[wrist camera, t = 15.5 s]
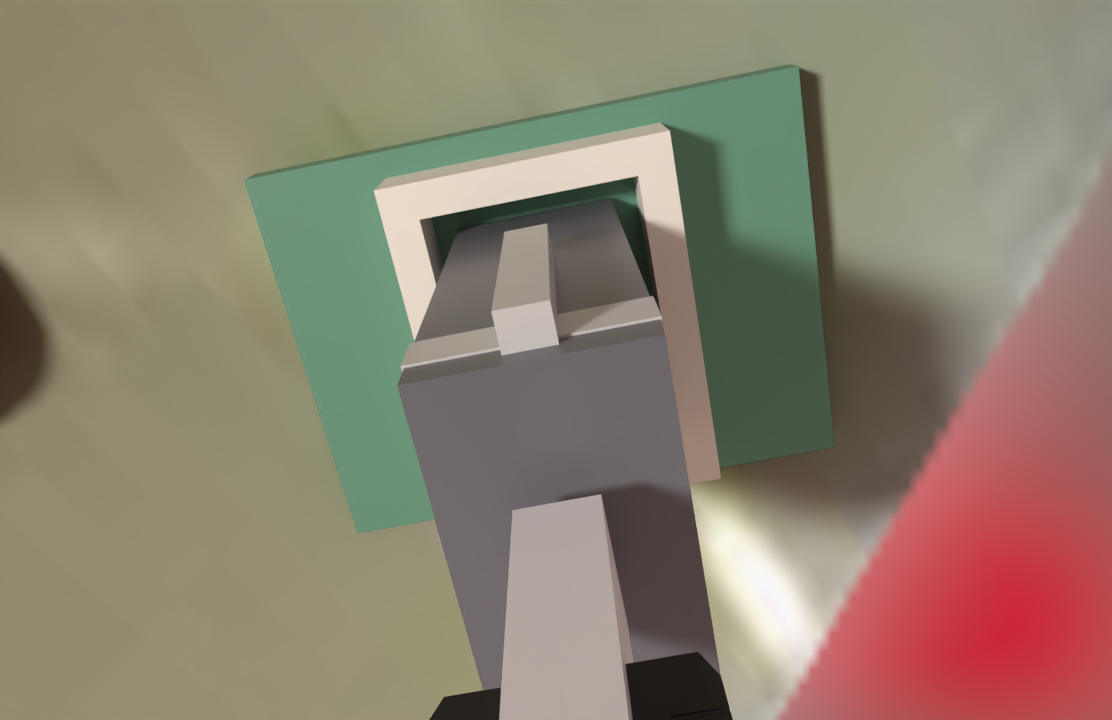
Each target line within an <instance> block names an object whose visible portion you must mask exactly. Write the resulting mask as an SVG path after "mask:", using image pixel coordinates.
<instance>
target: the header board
mask: <svg viewBox="0 0 1112 720" xmlns="http://www.w3.org/2000/svg"><path fill="white" fill-rule="evenodd" d="M244 181H245V184H246V187H247V190H248V194H249V197H250V200H251V203H252V206H253V209H254V212H255V215H256V218H257V222H258V225H259V228H260V231H261V234H262V237H263V240H264V243H265V246H266V250H267V253H268V256H269V259H270V262H271V265H272V268H273V271H274V274H275V278H276V281H277V284H278V287H279V290H280V293H281V296H282V299H283V302H284V306H285V309H286V312H287V315H288V318H289V321H290V324H291V327H292V331H293V334H294V337H295V340H296V343H297V346H298V349H299V352H300V355H301V359H302V362H303V365H304V368H305V371H306V374H307V377H308V380H309V383H310V387H311V390H312V393H313V396H314V399H315V402H316V405H317V408H318V411H319V415H320V418H321V421H322V424H323V427H324V430H325V433H326V436H327V439H328V443H329V446H330V449H331V452H332V455H333V458H334V461H335V464H336V468H337V471H338V474H339V477H340V480H341V483H342V486H343V489H344V492H345V496H346V499H347V502H348V505H349V508H350V511H351V514H352V517H353V520H354V524H355V527H356V530H357V533H363V532H369V531H375V530H380V529H386V528H391V527H397V526H402V525H408V524H413V523H419V522H424V521H430V520H435V518H434V514H433V511H432V507H431V504H430V500H429V497H428V493H427V490H426V486H425V483H424V479H423V476H422V472H421V469H420V465H419V461H418V458H417V454H416V451H415V447H414V444H413V440H412V437H411V433H410V430H409V426H408V423H407V419H406V416H405V412H404V409H403V405H402V401H401V398H400V394H399V391H398V387H397V385H398V382H399V380H400V377H401V374H402V370H401V363H402V361H403V359H404V356H405V354H406V351H407V349H408V346H409V344H410V343H411V342H414V341H415V339H416V336H417V334H418V331H419V328H420V326H421V323H422V321H423V318H424V316H425V313H426V311H427V308H428V305H429V303H430V300H431V298H432V295H433V293H434V290H435V288H436V285H437V282H438V280H439V277H440V275H441V272H442V270H443V267H444V265H445V262H446V259H447V257H448V254H449V252H450V249H451V247H452V244H453V242H454V239H455V236H456V234H457V231H458V229H459V228H463V227H468V226H473V225H478V224H483V223H488V222H493V221H498V220H503V219H508V218H513V217H518V216H523V215H528V214H533V213H538V212H543V211H548V210H553V209H558V208H563V207H568V206H573V205H578V204H583V203H588V202H593V201H598V200H603V199H608V198H611V200H612V203H613V205H614V208H615V210H616V213H617V215H618V218H619V220H620V223H621V225H622V228H623V230H624V233H625V235H626V238H627V240H628V243H629V245H630V248H631V250H632V253H633V255H634V258H635V260H636V263H637V265H638V268H639V270H640V273H641V275H642V278H643V280H644V283H645V285H646V288H647V290H648V293H649V295H650V296H653V297H654V299H655V302H656V304H657V306H658V309H659V311H660V314H661V316H662V322H663V329H664V333H665V337H666V343H667V349H668V355H669V361H670V368H671V374H672V380H673V386H674V392H675V398H676V405H677V411H678V417H679V423H680V429H681V435H682V441H683V448H684V454H685V460H686V466H687V472H688V478H689V485H690V484H695V483H701V482H706V481H712V480H718V479H721V474H720V468H723V467H728V466H734V465H739V464H745V463H751V462H756V461H762V460H767V459H773V458H778V457H784V456H789V455H795V454H800V453H806V452H811V451H817V450H822V449H828V448H833V447H835V446H834V436H833V425H832V415H831V404H830V393H829V383H828V372H827V362H826V351H825V340H824V330H823V319H822V309H821V298H820V287H819V277H818V266H817V256H816V245H815V234H814V224H813V213H812V203H811V192H810V182H809V171H808V160H807V150H806V139H805V129H804V118H803V107H802V97H801V86H800V76H799V66H794V65H785V66H780V67H775V68H770V69H765V70H760V71H756V72H751V73H746V74H741V75H736V76H731V77H726V78H721V79H717V80H712V81H707V82H702V83H697V84H692V85H687V86H683V87H678V88H673V89H668V90H663V91H658V92H653V93H648V94H644V95H639V96H634V97H629V98H624V99H619V100H614V101H609V102H605V103H600V104H595V105H590V106H585V107H580V108H575V109H570V110H566V111H561V112H556V113H551V114H546V115H541V116H536V117H532V118H527V119H522V120H517V121H512V122H507V123H502V124H497V125H493V126H488V127H483V128H478V129H473V130H468V131H463V132H458V133H454V134H449V135H444V136H439V137H434V138H429V139H424V140H419V141H415V142H410V143H405V144H400V145H395V146H390V147H385V148H381V149H376V150H371V151H366V152H361V153H356V154H351V155H346V156H342V157H337V158H332V159H327V160H322V161H317V162H312V163H307V164H303V165H298V166H293V167H288V168H283V169H278V170H273V171H268V172H264V173H259V174H254V175H252V176H251V177H249V178H247V179H245V180H244Z"/></svg>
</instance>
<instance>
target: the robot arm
mask: <svg viewBox="0 0 1112 720" xmlns="http://www.w3.org/2000/svg"><path fill="white" fill-rule="evenodd" d="M430 720H733V719H732V716H731V712H730V709H729V705H728V701H727V697H726V694H725V690H724V686H723V683H722V679H721V675H720V674H719V673H718V672H717V671H716V670H715V669H714V668H713V667H712V666H711V665H710V664H709V663H708V662H707V661H706V659H705V658H704V657H703V656H702V655H701V654H700V653H699V652H693V653H687V654H681V655H675V656H669V657H663V658H657V659H651V660H646V661H640V662H634V663H633V657H632V650H631V643H630V635H629V628H628V623H627V618H626V614H625V609H624V604H623V599H622V594H621V589H620V584H619V579H618V574H617V569H616V564H615V560H614V555H613V550H612V545H611V540H610V535H609V530H608V525H607V520H606V515H605V510H604V505H603V501H602V496H601V494H600V495H594V496H589V497H583V498H577V499H572V500H566V501H561V502H555V503H550V504H544V505H539V506H533V507H528V508H522V509H516V510H512V526H511V541H510V557H509V573H508V589H507V605H506V620H505V636H504V652H503V668H502V683H501V688H495V689H489V690H483V691H477V692H471V693H465V694H459V695H453V696H447V697H444V698H443V699H442V701H441V703H440V704H439V706H438V707H437V709H436V710H435V712H434V714H433V715H432V717H431V718H430Z"/></svg>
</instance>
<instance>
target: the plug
mask: <svg viewBox="0 0 1112 720" xmlns="http://www.w3.org/2000/svg"><path fill="white" fill-rule="evenodd" d="M401 370H402V374H401V377H400V380H399V382H398V385H397V387H398V391H399V394H400V398H401V401H402V405H403V409H404V412H405V416H406V419H407V423H408V426H409V430H410V433H411V437H412V440H413V444H414V447H415V451H416V454H417V458H418V461H419V465H420V469H421V472H422V476H423V479H424V483H425V486H426V490H427V493H428V497H429V500H430V504H431V507H432V511H433V514H434V518H435V522H436V525H437V529H438V532H439V536H440V539H441V543H442V546H443V550H444V553H445V557H446V560H447V564H448V567H449V571H450V575H451V578H452V582H453V585H454V589H455V592H456V596H457V599H458V603H459V606H460V610H461V613H462V617H463V620H464V624H465V627H466V631H467V635H468V638H469V642H470V645H471V649H472V652H473V656H474V659H475V663H476V666H477V670H478V673H479V677H480V680H481V684H482V688H483V690H489V689H495V688H501V683H502V668H503V652H504V636H505V620H506V605H507V589H508V573H509V557H510V541H511V526H512V510H516V509H522V508H528V507H533V506H539V505H544V504H550V503H555V502H561V501H566V500H572V499H577V498H583V497H589V496H594V495H600V494H601V496H602V501H603V505H604V510H605V515H606V520H607V525H608V530H609V535H610V540H611V545H612V550H613V555H614V560H615V564H616V569H617V574H618V579H619V584H620V589H621V594H622V599H623V604H624V609H625V614H626V618H627V623H628V628H629V635H630V643H631V650H632V657H633V663H634V662H640V661H646V660H651V659H657V658H663V657H669V656H675V655H681V654H687V653H693V652H699V653H700V654H701V655H702V656H703V657H704V658H705V659H706V661H707V662H708V663H709V664H710V665H711V666H712V667H713V668H714V669H715V670H716V671H717V672H718V673H719V674H720V669H719V663H718V657H717V651H716V645H715V639H714V632H713V626H712V620H711V614H710V608H709V602H708V596H707V589H706V583H705V577H704V571H703V565H702V559H701V552H700V546H699V540H698V534H697V528H696V522H695V515H694V509H693V503H692V497H691V491H690V485H689V478H688V472H687V466H686V460H685V454H684V448H683V441H682V435H681V429H680V423H679V417H678V411H677V405H676V398H675V392H674V386H673V380H672V374H671V368H670V361H669V355H668V349H667V343H666V337H665V333H664V329H663V322H662V316H661V314H660V311H659V309H658V306H657V304H656V302H655V299H654V297H653V296H650V295H649V293H648V290H647V288H646V285H645V283H644V280H643V278H642V275H641V273H640V270H639V268H638V265H637V263H636V260H635V258H634V255H633V253H632V250H631V248H630V245H629V243H628V240H627V238H626V235H625V233H624V230H623V228H622V225H621V223H620V220H619V218H618V215H617V213H616V210H615V208H614V205H613V203H612V200H611V198H608V199H603V200H598V201H593V202H588V203H583V204H578V205H573V206H568V207H563V208H558V209H553V210H548V211H543V212H538V213H533V214H528V215H523V216H518V217H513V218H508V219H503V220H498V221H493V222H488V223H483V224H478V225H473V226H468V227H463V228H459V229H458V231H457V234H456V236H455V239H454V242H453V244H452V247H451V249H450V252H449V254H448V257H447V259H446V262H445V265H444V267H443V270H442V272H441V275H440V277H439V280H438V282H437V285H436V288H435V290H434V293H433V295H432V298H431V300H430V303H429V305H428V308H427V311H426V313H425V316H424V318H423V321H422V323H421V326H420V328H419V331H418V334H417V336H416V339H415V341H414V342H411V343H410V344H409V346H408V349H407V351H406V354H405V356H404V359H403V361H402V363H401Z"/></svg>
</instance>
